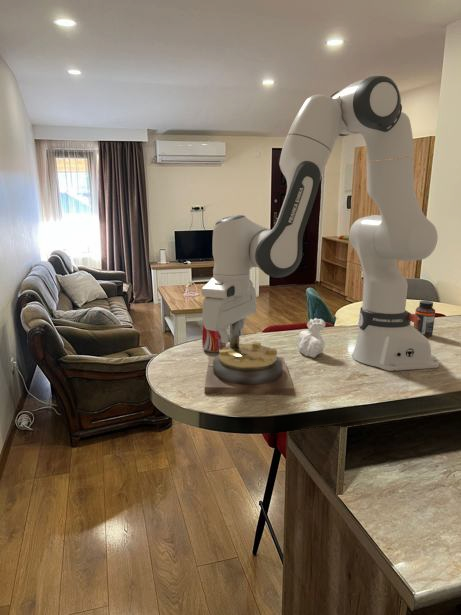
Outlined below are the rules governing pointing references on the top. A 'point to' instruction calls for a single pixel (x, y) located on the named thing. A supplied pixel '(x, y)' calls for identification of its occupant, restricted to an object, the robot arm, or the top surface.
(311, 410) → the top surface
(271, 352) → the gold dial with handle
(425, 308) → the supplement bottle
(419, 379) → the top surface
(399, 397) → the top surface
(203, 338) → the soda can
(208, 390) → the cap housing
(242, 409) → the top surface
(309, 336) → the white tied sack
